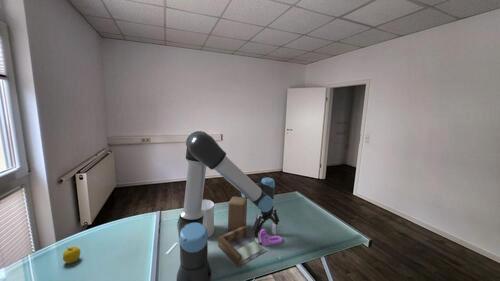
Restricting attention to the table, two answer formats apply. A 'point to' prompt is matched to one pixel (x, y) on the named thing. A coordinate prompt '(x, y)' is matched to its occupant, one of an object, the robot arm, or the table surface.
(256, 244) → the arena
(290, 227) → the table surface
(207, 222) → the container
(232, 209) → the wooden block
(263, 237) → the bracket
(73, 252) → the apple
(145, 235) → the table surface
